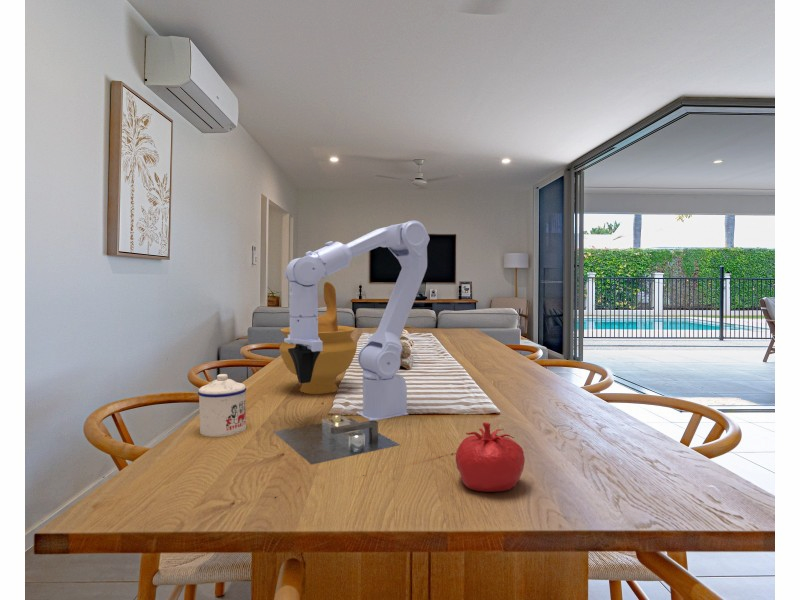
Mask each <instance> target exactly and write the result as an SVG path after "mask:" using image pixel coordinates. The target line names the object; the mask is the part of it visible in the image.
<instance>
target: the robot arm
mask: <svg viewBox="0 0 800 600" xmlns="http://www.w3.org/2000/svg"><path fill="white" fill-rule="evenodd" d="M429 242H430V235H429V233H428V232H427V229H426V227H425V225H424V224H423V223H422V222H421V221H419V220H409V221H407V222H402V223H398V224H397V223H396V224H391V225H389V226H385V227H381V228H377V229H374V230H373V231H371V232H368V233H366V234H364V235H362V236H360V237H358V238H356V239H354V240H352V241H350V242H347V243H345V244H344V243H343V242H340V241H335V242H334V241H332V240H331V241H328V242H325V243H324V245H325V246H323V247H321V248H319V249H317V250H313V251H312V250H309V251H307V252H305V256H303V257H298V258H294V259H292V260H290V261H289V263H288V264H287V266H286V269H285V271H284V275H285V278H286V280H287V282H288V283H289V284H288V285H289V294H288V300H289V301H288V304H289V305H288V307H289V310H288V311H289V327H290V335H288V338H286V337H285V338H284V339H283V341H284V342H286V343H288V344H295V345H296V347H295V348H289V349H288V352H289V354H290V355H291V357H292V360H293V362H294V365H295V369H296V373H297V375H296V376H297V381H298V383H300V384H303V383H308V382H310V381H311V378H312V373H313V369H314V365H315V362H316V359H317V357H318V355H319V354H320V351H323V341H321V340H320V338H319V337H318V315H319V304H318V303H319V296H318V294H319V293H318V284H319V282H320V281H321V279H324V278H326V277H329V276H330V275H332V274H335V273H337V272H338V271H339V272H340V271H341V270H343V269H345V268H348V267H349V266H350V264H351V261H352V259H353V258H356V257H358V256H360V255H363V254H364V253H367V252H369V251H372V250H374V249H377V248H379V247H381V248H388V250H389V252H391V253H392V254H393V256H394V257H395V258H396V259H397V260H398V262H399V264H400V267H401V270H400V271H399V275H398V277H397V279H396V282H395V284H394V287H393V289H392V292H391V293H390V296H389V300H388V302H387V305H386V307H385V310H384V312H383V315H382V317H381V320H380V322H379V324H378V327H377V330H376V331H375V332H374V333H373V334H372V335H370V336H369V338H368V341H367V342H366V344H365V345H364V346H362V348H360V350H359V352H358V355H357V362H358V365H359V366H360V368H361V369H362V410H359V411H355V413H356V414H358V415H360V416H362V417H363V418H366V419H367V420H369V421H372V420H375V421H379V420H384V419H389V418H394V417H401V416H405V415H406V416H407V415H409V412H408V401H407V400H408V395H407V393H408V389H407V383H406V380H405V378H404V376H402V375H401V374H398V371H399V370H400V367H401V363H402V362H401V355H402V351H403V349H404V348H403V344H402V343H401V339H400V338H401V337H402V334H403V332H404V328H405V327H406V326H405V325H406V323H407V321H408V318H409V315H410V313H411V310H412V307H413V306H414V303H415V301H416V299H417V298H416V297H417V295H418V292H419V290H420V288H421V284H422V282H423V279H424V277H425V275H426V272H427V269H428V244H429Z"/></svg>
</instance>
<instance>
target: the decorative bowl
mask: <svg viewBox="0 0 800 600" xmlns="http://www.w3.org/2000/svg"><path fill="white" fill-rule="evenodd" d="M323 298H324V299H323V300H324V302H325V305H326V311H325V313H323V314H318V337H319V338H320V340H321V341H323V351H320V354H319V355H318V357H317V359H316V362H315V365H314V369H313V373H312V378H311V381H310V382H308V383H301V384H302V385H301V386H300V388H299V391H300V392H301V393H303V392H304V394H307V395H310V394H311V395H321V394H330V393H334V392H337V391H338V390H339V388H338V385H337V384H336V379H337V377H338V376H339V375H341V374H343V373H344V372H346V371H348V369H349V368H350V366H351V365H352V362H353V360H354V357H355V355H356V353H357V343H356V341H355V340H354V339H353V338H352V337H351V335H352V334H353V333H354V331H355V330H356V327H354V326H347V325H339V324H338V309H337V293H336V288H335V286H334V285H333V284H332V283H331V282H330V281H325V282H324V283H323ZM280 331H281V332H282V333H283V335H284V336H285V338H288V335H290V326H288V327H283V328H280ZM295 347H296V345H295V344H288V343H286V342H284V340H283V341H282V342H281V344H280V345H279V354H280V356H281V359H282V361H283V363H284V365H285V366H286V368H287V369H288V371H289V372H290V373H292V374H294V375H295V376H297V373H296V369H295V365H294V362H293V360H292V357H291V355H290V354H289V352H288V349H289V348H295ZM337 389H338V390H337Z"/></svg>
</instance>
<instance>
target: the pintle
mask: <svg viewBox="0 0 800 600" xmlns="http://www.w3.org/2000/svg"><path fill="white" fill-rule="evenodd" d="M341 416H342V414H338V413H337V414H336V413H335V414H332V418H333V423H336V422H341Z"/></svg>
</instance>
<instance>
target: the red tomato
mask: <svg viewBox="0 0 800 600" xmlns="http://www.w3.org/2000/svg"><path fill="white" fill-rule="evenodd" d="M482 426H483V428H484V429H483V428H482V427H479V428H478V430H479V432H480V433H481V434H480V433H478V432H476V431H470V432H465V434H466V435H469V436H467V437H465V438H464V439H463V440H461V442H460V444H459V445H458V448H457V450H456V453H455V464H456V468H457V469H456V470H458V472H459V475H460V477H461V481H462V483H463V484H464V486H466V487H467V488H468V489H469V490H473V491H476V492H486V493H493V492H494V493H495V492H506V491H508V490H511V489H513V487H515V486H516V484H517V483H518V481H520V479H521V476H522V473H523V472H524V469H525V468H524V467H525V459H526V458H525V455H524V454H525V453H524V448H522V447H521V445H520V444H518V443H517V442H516V441H514V440H513V439H515V437H513V436H511V435H510V434H506V433H505V434H501V435H500V434H499V435H498V433H499V431H500V432H501V431H504V428H503V429H501V428H499V429H496V430H494V431H492V432H491V423H489V422H485V421H484V422H482ZM511 438H512V439H511Z"/></svg>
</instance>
